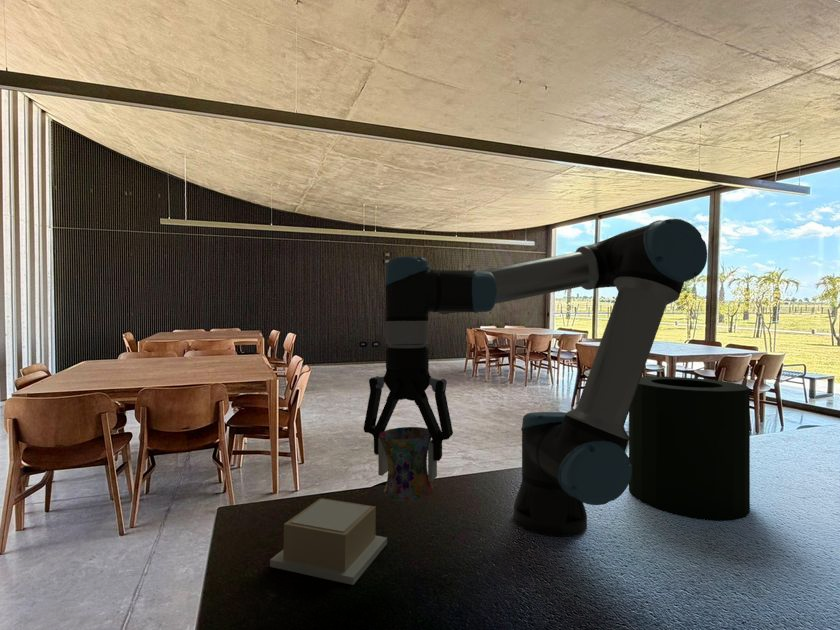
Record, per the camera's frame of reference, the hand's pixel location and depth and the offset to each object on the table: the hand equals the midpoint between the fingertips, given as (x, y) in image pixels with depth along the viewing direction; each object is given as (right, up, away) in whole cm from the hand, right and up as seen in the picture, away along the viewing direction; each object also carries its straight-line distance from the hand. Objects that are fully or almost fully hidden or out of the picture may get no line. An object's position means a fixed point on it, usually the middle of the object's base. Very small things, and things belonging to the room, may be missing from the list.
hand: (407, 475), depth 77 cm
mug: (0, -3, 0) cm, 3 cm away
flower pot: (+67, -17, +31) cm, 76 cm away
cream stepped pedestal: (-14, -16, +3) cm, 21 cm away
